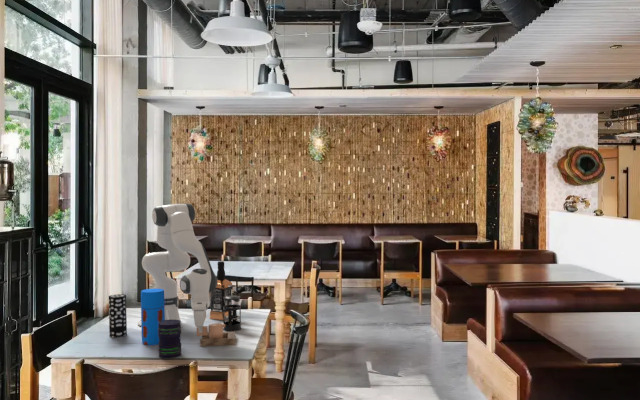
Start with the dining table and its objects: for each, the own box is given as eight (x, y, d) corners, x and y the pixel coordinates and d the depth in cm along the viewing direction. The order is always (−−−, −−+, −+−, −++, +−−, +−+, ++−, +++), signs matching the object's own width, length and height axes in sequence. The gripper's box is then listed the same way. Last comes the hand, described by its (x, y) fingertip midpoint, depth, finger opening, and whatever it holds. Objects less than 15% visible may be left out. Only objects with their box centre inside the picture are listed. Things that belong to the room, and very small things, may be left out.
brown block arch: (200, 346, 277) (200, 340, 277) (202, 338, 291) (202, 332, 291) (234, 344, 279) (234, 338, 279) (235, 337, 293) (235, 331, 293)
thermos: (152, 346, 278) (151, 293, 277) (137, 343, 284) (135, 291, 283) (169, 340, 287) (168, 289, 286) (154, 338, 293) (153, 287, 292)
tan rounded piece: (225, 339, 289) (225, 322, 289) (225, 343, 282) (224, 326, 282) (198, 340, 287) (197, 324, 287) (196, 344, 280) (196, 327, 280)
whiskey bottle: (234, 316, 337) (233, 260, 337) (223, 320, 329) (222, 263, 328) (219, 315, 342) (218, 259, 341) (208, 318, 333) (207, 262, 333)
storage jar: (153, 356, 261) (153, 323, 261) (170, 351, 270) (169, 318, 269) (169, 360, 256) (169, 325, 256) (186, 354, 264) (185, 321, 264)
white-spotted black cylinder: (130, 333, 302) (129, 294, 301) (119, 338, 294) (118, 297, 293) (116, 332, 304) (115, 293, 304) (105, 336, 296) (105, 297, 296)
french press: (238, 331, 303) (238, 287, 302) (220, 331, 304) (220, 287, 303) (243, 326, 315) (243, 283, 314) (226, 326, 316) (225, 283, 315)
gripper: (195, 299, 293) (196, 326, 294) (191, 307, 273) (192, 337, 274) (208, 298, 294) (209, 326, 295) (205, 307, 274) (206, 336, 274)
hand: (200, 331), depth 284 cm, fingers closed on tan rounded piece
